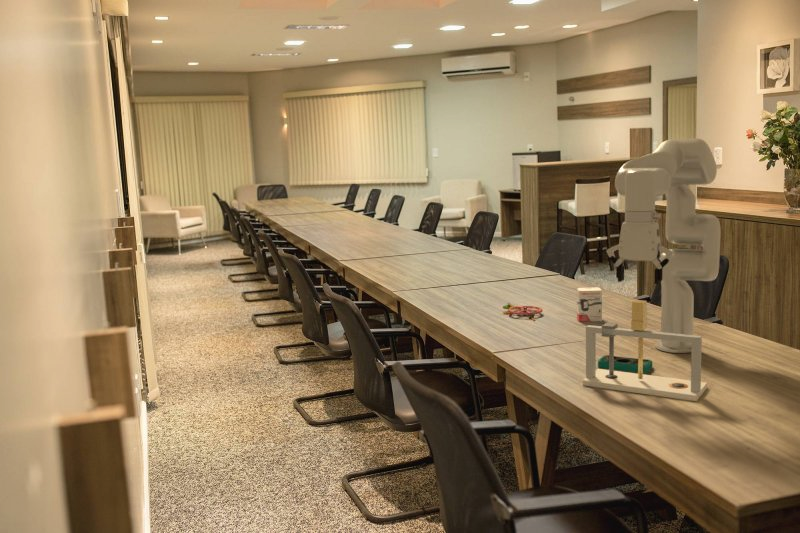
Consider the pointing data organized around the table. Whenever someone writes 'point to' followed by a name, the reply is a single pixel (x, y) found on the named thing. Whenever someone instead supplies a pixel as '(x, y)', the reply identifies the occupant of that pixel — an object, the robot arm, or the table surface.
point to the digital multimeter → (624, 364)
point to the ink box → (589, 304)
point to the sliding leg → (639, 328)
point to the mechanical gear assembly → (522, 310)
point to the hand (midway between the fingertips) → (639, 282)
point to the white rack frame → (648, 383)
